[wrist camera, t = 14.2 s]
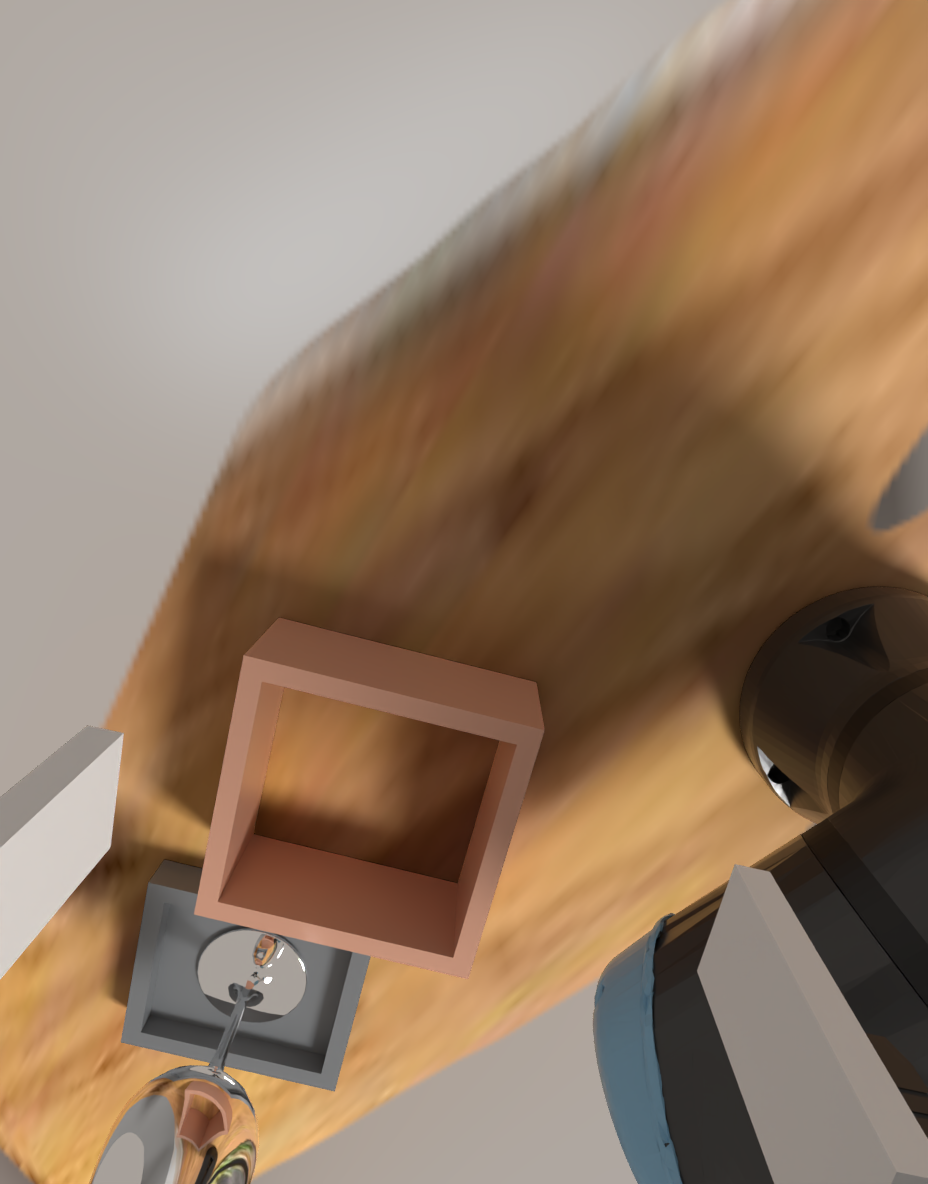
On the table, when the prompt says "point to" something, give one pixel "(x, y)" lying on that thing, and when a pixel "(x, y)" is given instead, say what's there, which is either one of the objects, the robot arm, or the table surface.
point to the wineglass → (207, 1077)
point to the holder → (342, 884)
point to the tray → (195, 1027)
